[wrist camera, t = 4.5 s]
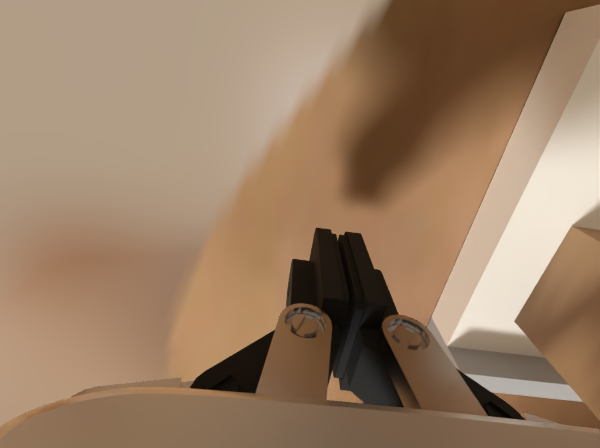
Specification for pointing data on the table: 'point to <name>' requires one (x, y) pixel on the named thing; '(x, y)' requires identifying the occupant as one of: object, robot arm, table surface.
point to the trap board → (528, 220)
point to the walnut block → (569, 314)
